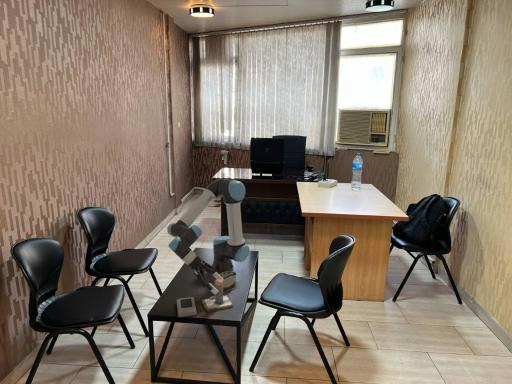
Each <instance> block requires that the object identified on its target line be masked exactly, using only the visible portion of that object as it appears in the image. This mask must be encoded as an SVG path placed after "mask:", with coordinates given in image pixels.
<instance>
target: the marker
mask: <svg viewBox="0 0 512 384" xmlns="http://www.w3.org/2000/svg"><path fill="white" fill-rule="evenodd" d="M214 287H215V288H216V289H217V290H218V292H217V293H216V294H215V295H214V296H215V303H216V304H222V303H223V296H224V293H223V280H222V279H216V278H215V279H214Z"/></svg>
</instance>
